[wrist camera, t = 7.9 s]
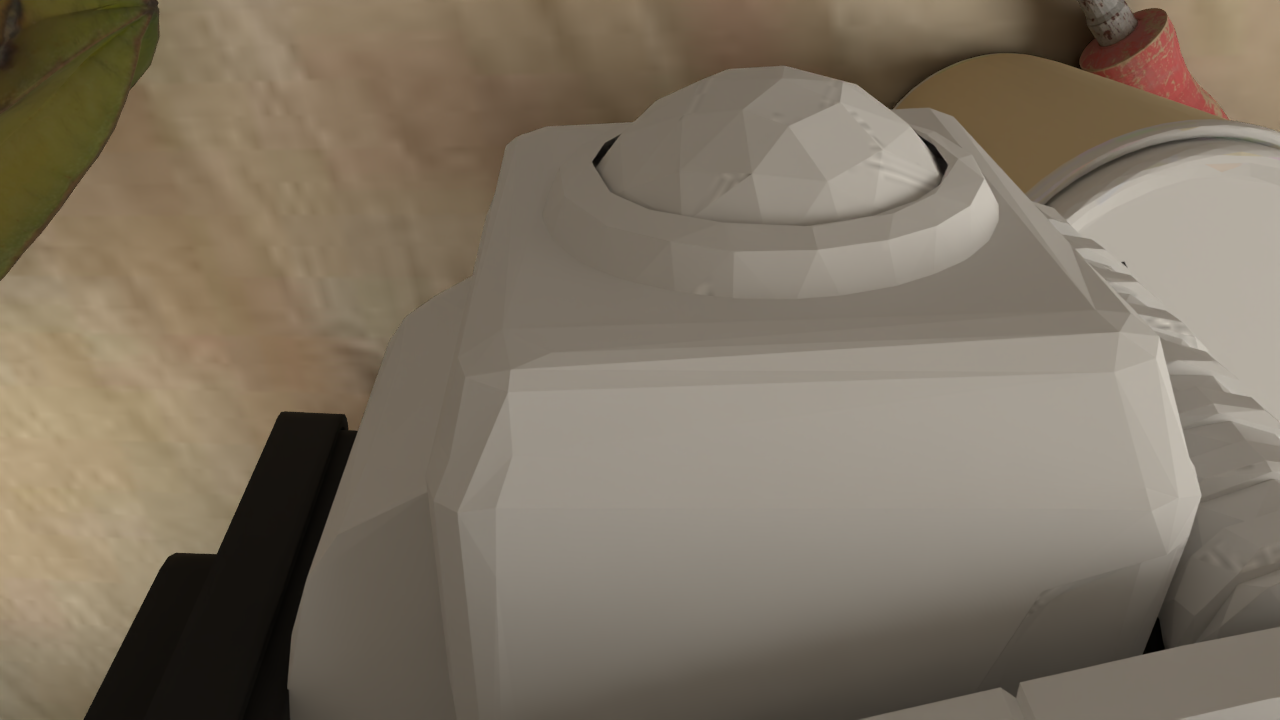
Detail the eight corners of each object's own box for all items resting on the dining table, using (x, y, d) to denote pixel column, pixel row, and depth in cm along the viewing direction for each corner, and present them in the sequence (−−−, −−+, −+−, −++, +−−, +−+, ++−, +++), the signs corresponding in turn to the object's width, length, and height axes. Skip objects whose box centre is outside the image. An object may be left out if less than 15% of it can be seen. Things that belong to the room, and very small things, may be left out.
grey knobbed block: (1147, -42, 9) (997, 792, 14) (328, -5, 9) (468, 820, 14) (1885, 255, 4) (1233, 1416, 9) (-43, 351, 4) (391, 1465, 9)
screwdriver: (919, -445, 24) (902, -440, 27) (808, -342, 25) (801, -346, 28) (1361, 317, 34) (1319, 269, 36) (1266, 366, 35) (1231, 316, 38)
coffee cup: (864, 352, 36) (993, 585, 25) (802, 77, 32) (926, 216, 21) (1147, 271, 35) (1401, 474, 25) (1122, -22, 31) (1415, 71, 21)
